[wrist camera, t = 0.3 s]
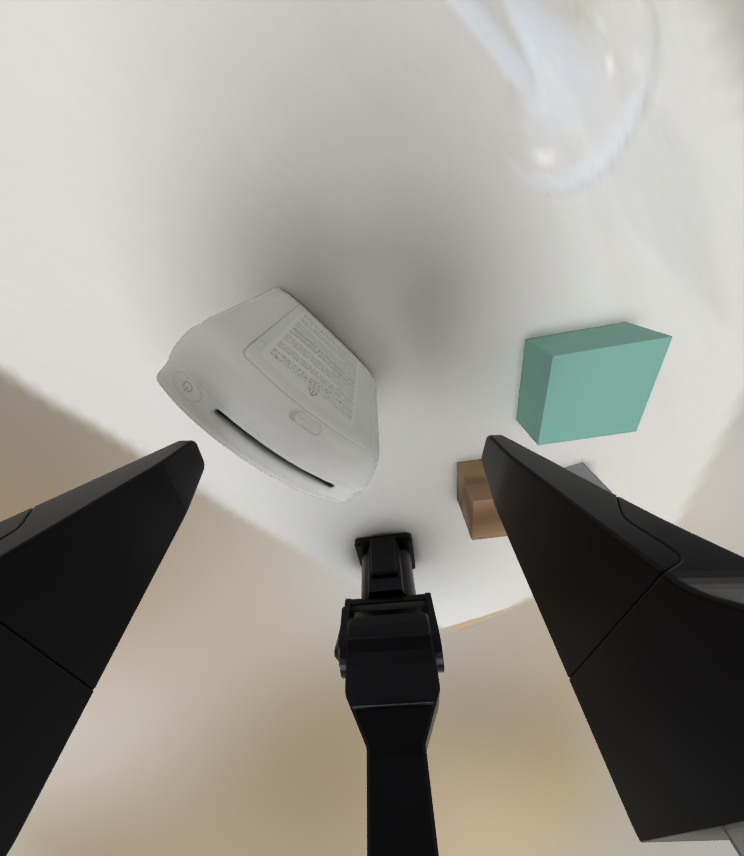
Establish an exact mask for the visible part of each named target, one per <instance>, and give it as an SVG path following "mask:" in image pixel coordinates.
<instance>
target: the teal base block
mask: <svg viewBox="0 0 744 856" xmlns="http://www.w3.org/2000/svg"><path fill="white" fill-rule="evenodd" d="M671 339H672V336H669V335H666V334H663V333H660V332H656V331H653V330H650V329H647V328H643V327H640V326H637V325H633V324H630V323H627V322H623V323H618V324H612V325H606V326H600V327H594V328H588V329H583V330H577V331H571V332H565V333H559V334H553V335H548V336H542V337H536V338H530V339H525V348H524V357H523V366H522V374H521V383H520V392H519V400H518V409H517V418H516V420H517V421H518V422H519V423H520V425H521V426H522V427H523V428H524V429H525V430H526V432H527V433H528V434H529V435H530V436H531V438H532V439H533V440H534V441H535V442H536V443H537V445H543V444H550V443H557V442H564V441H571V440H578V439H585V438H592V437H599V436H606V435H613V434H620V433H628V432H635V431H636V430H637V427H638V425H639V422H640V420H641V417H642V414H643V412H644V409H645V407H646V404H647V401H648V399H649V396H650V394H651V391H652V388H653V386H654V383H655V381H656V378H657V375H658V373H659V370H660V368H661V365H662V362H663V360H664V357H665V355H666V352H667V349H668V347H669V344H670V342H671Z"/></svg>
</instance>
